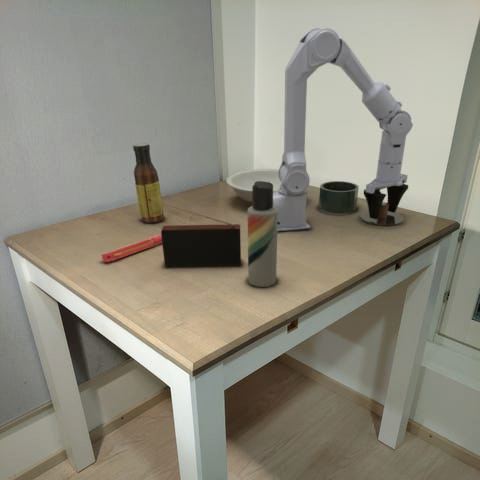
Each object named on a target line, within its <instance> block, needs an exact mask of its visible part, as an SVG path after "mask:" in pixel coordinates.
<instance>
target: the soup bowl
mask: <svg viewBox="0 0 480 480" xmlns="http://www.w3.org/2000/svg"><path fill="white" fill-rule="evenodd" d="M278 172H279V168H257V169H248V170H243V171H239V172H236V173H232V174H231V175H229V176H228V177H227V178H226V180H225V182H226V184H227V186H229V187H230V188H232V190H233V191H234V193H235V194H236V195H237V196H238V197H239V198H241V199H242V200H244V201H245V202H248V203H251V204H252V186H253V185H254V183H255V182H257V181H264V182H270V183H272V184H273V193H274V192H277V191H279V188H280V186H281V184H282V182H281V180H280V179H279V175H278Z"/></svg>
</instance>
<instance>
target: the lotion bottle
mask: <svg viewBox="0 0 480 480" xmlns="http://www.w3.org/2000/svg"><path fill="white" fill-rule="evenodd" d="M251 204H252V205H251V206H250V207H248V208H247V275H248V282H249V284H250V285H251V286H253V287H257V288H258V287H259V288H267V287H271V286H273V285H274V284H276V281H277V266H278V264H277V263H278V260H277V259H278V231H277V225H278V210H277V208H276V207H274V206H273V184H272V183H270V182H264V181H257V182H255V183H254V185H253V186H252V203H251Z"/></svg>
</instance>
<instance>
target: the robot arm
mask: <svg viewBox="0 0 480 480" xmlns="http://www.w3.org/2000/svg"><path fill="white" fill-rule="evenodd" d="M326 64H331V65H333V66H337V67H339V68H340V69H341V70H342V71H343V72H344V74H346V76H347V77H348V78H349V79H350V81H352V82H353V84H354V85H355V86H356V87H357V88H358V89H359V90H360V92H361V93H362V97H361V98H362V99H361V103H362V104H363V105H364V107H366V109H368V111H369V112H370V114H371V115H372V116H373V117H374V119H375V120H376V121H377V122H378V126H379V128H380V129H381V130H382V131H381V138H380V139H381V140H380V145H379V146H380V147H379V152H378V153H379V154H378V161H377V168H376V175H375V176H376V177H375V178H374V179H372V181H371V182H369V183H366V185H365V189H364V190H363V196H364V198H365V200H366V204H367V208H368V211H369V216H370V218H373V219H378V216H379V213H380V208H381V205H382V202H384V200H385V198H386V196H387V202H386V203H388V204H389V207H388V211H390V212H393V213H394V212H395V213H396V211H397V210H398V207H399V204H400V202H401V200H402V198H403V196H404V195H405V194H406V192H407V191H408V190H409V185H408V184H406V183H408V174H406V173H405V174H404V173H401V171H402V167H403V159H404V155H405V154H404V153H405V149H406V148H405V147H406V141H407V140H406V139H407V136H408V135H409V133H410V132H411V130H412V129H413V125H414V123H413V122H412V116H411V115H410V113H409V112H407V111H406V110H404V109H403V110H402V106H403V103H402V102H401V101H397V100H396V98H395V97H394V96H393V94H392V93H391V90H392V87H390V85H389V84H384V82H382V81H381V82H380V81H379V82H375V81H374V80H373V78H372V77H371V75H370V74H369V73H368V71H367V70H366V68H365V67H364V65H363V64H362V62H361V61H360V60H359V58H358V57H357V55H356V54H355V53H354V51H353V50H352V48H351V47H350V46H349V44H348V43H347V42H346V41H345V40H344V39H343V38H341V37H339V34H338V33H337V32H336V30H334V29H333V28H328V27H325V28H318V27H317V28H313V29H311V30H310V31H308V32H307V33H305V34H304V35H303V37H302V38H300V39H299V40H298V43H297V46H296V48H295V50H294V52H293V53H292V55H291V57H290V59H289V61H288V63H287V64H286V67H285V70H284V130H283V131H284V134H283V135H284V139H283V153H282V156H281V164H280V166H279V168H278V169H279V172H278V175H279V179H280V180H281V182H282V184H281V186H280V188H279V191H277V192H274V193H273V206H274V207H276V208H277V210H278V225H277V232H286V231H299V230H301V231H302V230H310V228H311V225H310V224H309V223H308V222H307V203H308V188H309V186H310V175H309V173H308V170H307V159H306V152H305V150H306V123H307V122H306V121H307V120H306V119H307V93H308V92H307V90H308V89H307V88H308V79H309V78H310V77H311V76H312V75H313V74H314V73H315V72H316V71H317V70H318V69H319V68H321V67H322V66H325V65H326ZM384 189H386V192H387V194H386V193H383V192H382V191H381V190H384Z"/></svg>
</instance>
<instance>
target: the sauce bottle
mask: <svg viewBox="0 0 480 480" xmlns="http://www.w3.org/2000/svg"><path fill="white" fill-rule="evenodd" d="M132 149H133V151H134V155H135V166H134V170H133V177H134V182H135V183H134V185H135V190H136V191H135V192H136V195H137V196H136V197H137V202H138V208H139V214H140V216H141V220H142V221H143V222H144V223H147V224H148V223H149V224H154V223H159V222H162V221H163V220H164V218H165V215H164V211H165V210H164V206H163V205H164V203H163V198H162V192H161V191H162V190H161V184H160V178H159V174H158V171H157V169H156V167H155V165H154V164H153V162H152V158H151V152H150V150H151V147H150V143H148V142H137V143H134V144H133V145H132ZM148 199H151V200H153V201H149V200H148ZM154 201H156V202H154ZM157 202H160V203H163V204H160V203H157Z"/></svg>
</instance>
